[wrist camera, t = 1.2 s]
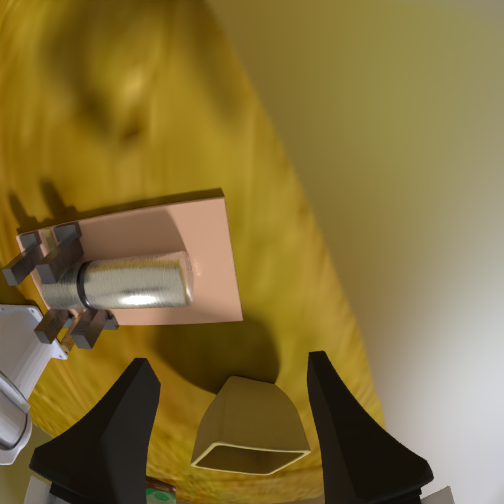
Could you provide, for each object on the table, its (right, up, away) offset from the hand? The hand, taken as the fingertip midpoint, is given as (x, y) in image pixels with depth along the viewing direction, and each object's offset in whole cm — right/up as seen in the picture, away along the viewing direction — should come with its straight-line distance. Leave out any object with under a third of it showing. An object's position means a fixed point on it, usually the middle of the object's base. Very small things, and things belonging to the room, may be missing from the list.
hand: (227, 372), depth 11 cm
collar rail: (-15, +3, +9) cm, 18 cm away
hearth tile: (-10, +3, +9) cm, 14 cm away
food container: (-26, -64, +44) cm, 82 cm away
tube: (-9, +3, +8) cm, 13 cm away
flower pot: (+1, -10, +16) cm, 19 cm away
